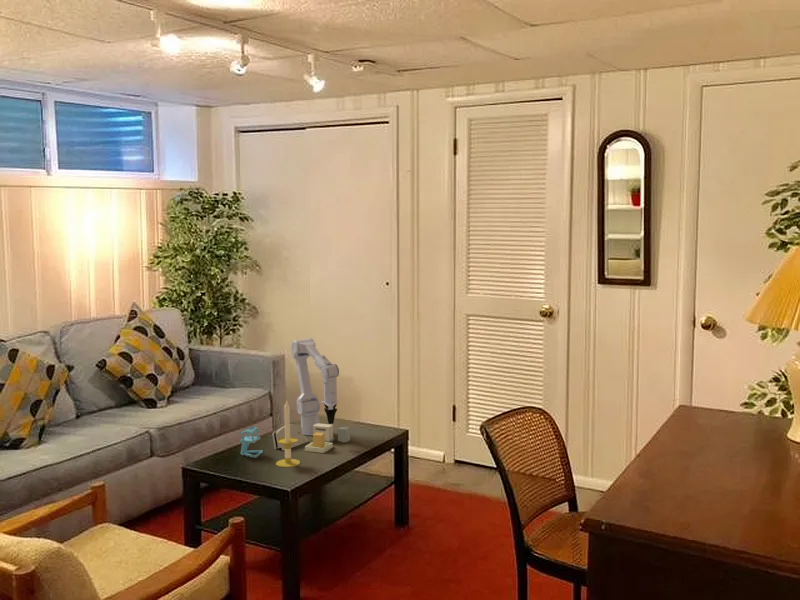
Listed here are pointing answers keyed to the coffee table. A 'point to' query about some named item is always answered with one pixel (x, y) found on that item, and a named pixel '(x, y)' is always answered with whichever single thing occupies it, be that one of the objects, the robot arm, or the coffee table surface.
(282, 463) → the candle
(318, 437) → the ochre block
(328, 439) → the cream unit
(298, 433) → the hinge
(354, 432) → the coffee table surface
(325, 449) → the sage tray
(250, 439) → the chair
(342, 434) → the slate block
